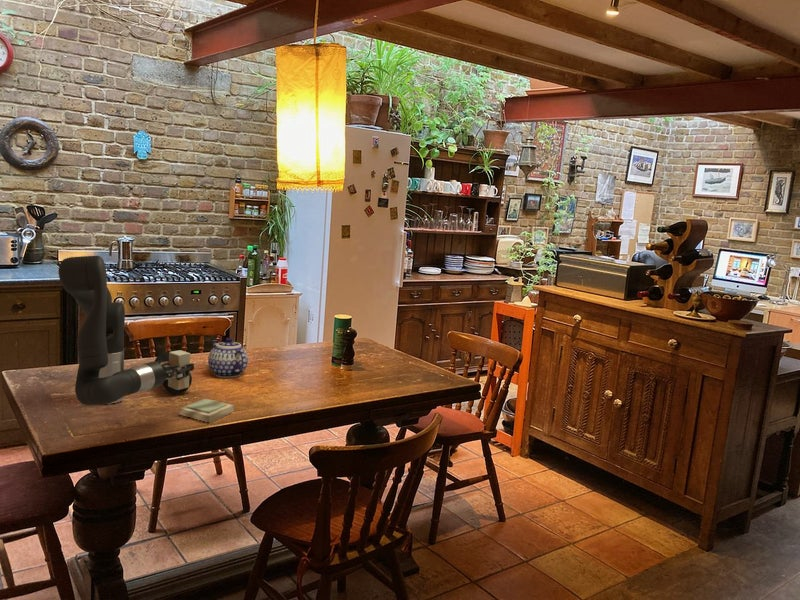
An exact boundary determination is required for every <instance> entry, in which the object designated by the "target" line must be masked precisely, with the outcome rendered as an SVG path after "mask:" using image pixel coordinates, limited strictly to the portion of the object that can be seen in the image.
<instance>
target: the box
mask: <svg viewBox="0 0 800 600" xmlns="http://www.w3.org/2000/svg"><path fill="white" fill-rule="evenodd" d="M187 364H191V353H190V352H187V351H184V350H182V349H180V350H178V349H177V350H173V351H169V366H172V365H178V366H184V365H187ZM180 370H181V369H180ZM174 373H175V368H174ZM189 374H191V371H190V372H189ZM168 386H169V387H172V388H174V389H177V390H180V389H184V388H188V387H189V376H187V377H185V378H183V379H181V380H176V377H174V378H170V379H168ZM189 388H190V387H189ZM189 388H188V389H189Z"/></svg>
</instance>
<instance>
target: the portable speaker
mask: <svg viewBox="0 0 800 600" xmlns="http://www.w3.org/2000/svg"><path fill="white" fill-rule="evenodd" d="M169 352H170V351H169ZM169 352H166V351H165V352H162V353H160V354H159V355H158V356H156V358H155V359H154V362H157V361H163V362H166V361H167V362H169ZM192 380H193V377H192V374H191V373H190V374H189V387H188V388H184V389H180V390H177V389H174V388H172V387H169V386H168V379H165V381H164V382H163V384H162V385H161V386H163V389H165V391H166V392H168V393H169V394H171V395H181V394H183V393H186V391H188V390H189V388H190V387H191V385H192Z"/></svg>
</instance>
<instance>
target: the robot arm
mask: <svg viewBox="0 0 800 600" xmlns="http://www.w3.org/2000/svg"><path fill="white" fill-rule="evenodd" d="M106 268H107V267H106V264H105V261H104V258H103V257H102V256H100V255H84V256H83V255H82V256H70V257H66V258H64V259H62V260H61V261H60V263H59V265H58V270H57V271H58V278H59V282H60V284H61V286H62V287H63V289H64V290H65V291H66V292H67V293H68V294H70V296H72V297H73V298H74V299H75V301H76V304H77V305H78V307H80V309H81V310H82V312H83V313H84V314H85V320H84V321H83V323H82V325H81V327H80V328H79V332H78V334H77V338H76V340H77V341H76V343H77V355H78V362H79V363H78V368H77V373H76V378H75V379H76V380H75V386H74V389H75V391H74V393H75V395H76V398H77V400H78V402H79V403H80V404H82V405H83V406H97V405H98V406H101V405H104V404H108V403H112V402H118V401H121V400H122V399H124V400H125V397H126V396H129V395H133V394H136V393H142V392H145V391H148V390H151V389H155V388H157V387H160V386H163V385H162V384H163V382H164V381H165V379H170V378H174V377H176V380H181V379H183V378H185V377H187V376H189V372H190V373H191V372H192V371H194V370H195V363H193V362H192V363H191V362H190V364H187V365H184V366H178V365H172V366H169V362H167V361H166V362H163V361H157V362H154V361H155V360H154V361H149V362H146V363H141V364H139V365H135V366H132V367H130V368H128V369H125V320H126V310H125V309H126V308H125V305H124V304H123V303H122V302H115V301H114V302H113V297H112V294H111V291H110V290H109V288H108V279H107V278H108V275H107V269H106ZM107 331H112V332H113V333H112V334H110V335H109V336H107ZM174 368H175V373H174ZM180 369H181V370H180ZM108 405H109V404H108Z"/></svg>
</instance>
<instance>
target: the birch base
mask: <svg viewBox="0 0 800 600" xmlns="http://www.w3.org/2000/svg"><path fill="white" fill-rule="evenodd" d="M234 406H235V405H234V404H230V403H226V402H221V401H217V400H213V399H208V398H205V397H204V398H202V399H199V400H197V401H193V402H192V403H189V404H187V405H185V406H182V407H180V408H179V410H178V412H179V413H178V415H179V414H181V415H184V416H188V417H191V418H195V419H198V420H197V421H199V420H203V421H205V422H204V423H207V422H209V423H208V424H211V423H213V422H215V421H218V420H219V418H220V419H222V418H224V417H226V416H229V415H231V414H233V413H234ZM232 412H233V413H232ZM230 413H231V414H230ZM228 414H229V415H228ZM225 415H226V416H225ZM223 416H224V417H223ZM221 417H222V418H221ZM191 418H190V419H191ZM195 419H194V420H195ZM217 419H218V420H217ZM203 421H202V422H203ZM212 421H213V422H212ZM210 422H211V423H210Z"/></svg>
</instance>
